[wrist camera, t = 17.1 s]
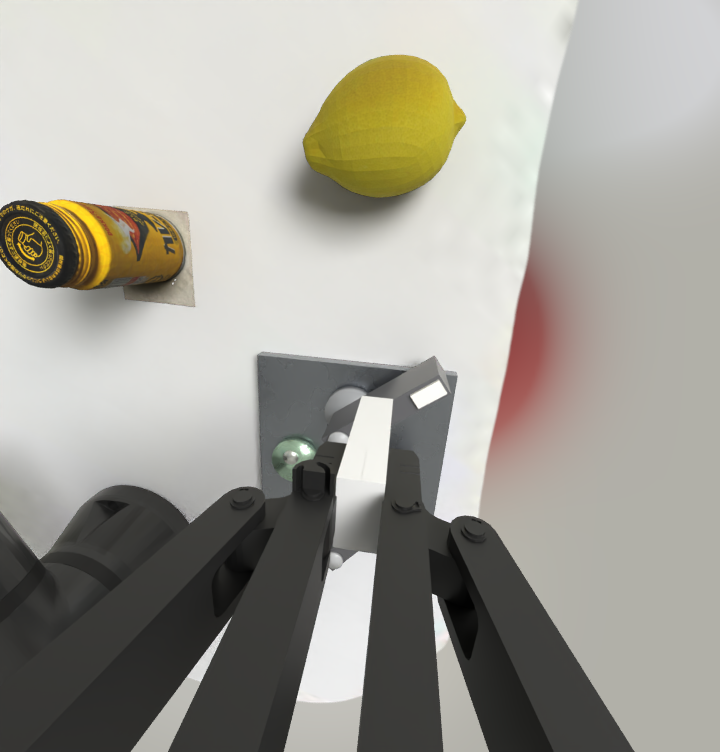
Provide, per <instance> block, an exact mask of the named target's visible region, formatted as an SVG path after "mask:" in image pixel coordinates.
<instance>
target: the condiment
mask: <svg viewBox="0 0 720 752" xmlns="http://www.w3.org/2000/svg"><path fill="white" fill-rule="evenodd" d="M0 259H1V260H2V262H3V263H4V264H5V266H6V267H7V268H8V269H9V270H10V271H12V272H13V273H14V274H15V275H16V276H17V277H19V278H20V279H22V280H23V281H25V282H26V283H28V284H29V285H33V286H36V287H40V288H56V287H63V288H67V287H70V288H73V289H77V290H91V289H100V288H110V287H118V286H123V289H124V294H125V299H128V300H139V301H149V302H159V303H168V304H176V305H185V306H194V307H195V301H194V289H193V276H192V255H191V242H190V231H189V219H188V213H187V212H184V211H171V210H159V209H147V208H135V207H124V206H113V207H111V206H102V205H96V204H89V203H83V202H75V201H70V200H69V201H68V200H54V201H50V202H48V203H45V202H35V201H27V200H22V201H14V202H11V203H10V204H7V205H5V206H3V207H2V208H1V210H0ZM174 279H176V281H174ZM172 282H174V285H172Z"/></svg>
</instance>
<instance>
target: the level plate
mask: <svg viewBox="0 0 720 752" xmlns="http://www.w3.org/2000/svg"><path fill="white" fill-rule="evenodd" d="M412 368H414V367H404V366H395V365H385V364H376V363H366V362H356V361H347V360H337V359H328V358H318V357H308V356H299V355H289V354H280V353H270V352H261V353H260V354H258V383H259V411H260V439H261V467H262V492H263V493H264V495H265V499H271V498H280V497H285V496H288V495H290V494H291V492H292V468H293V467H294V466H295V465H296V464H298V463H300V462H302V461H305V460H310V459H313V458H314V456H315V454H316V452H317V450H318V447H319V446H321V445H322V444H323V443H324V442H323V441H322V440H321V439H322V436H323V434H324V432H325V430H326V428H327V426H328V423H327V421H326V419H325V406H326V404H327V402H328V400H329V398H330V396H331V395H332V394H333V393H334V392H335V391H336V390H338V389H340V388H342V387H347V386H353V387H358V388H360V389H363V390H364V391H366V392H367V393H370V392H371V391H373V390H375V389H377V388H378V387H380V386H382V385H384V384H385V383H387V382H389V381H391V380H392V379H394V378H396V377H398V376H400V375H401V374H403V373H405V372H407V371H408V370H410V369H412ZM444 372H445V374H446V377H447V381H448V384H449V388H450V391H451V395H449V396H447V397H445V398H443V399H442V400H440V401H438V402H436V403H434V404H432V405H430V406H428V407H426V408H424V409H422V410H421V411H419V412H417V413H415V414H413V415H411V416H409V417H407V418H405V419H403V420H401V421H400V422H398V423H396V424H394V425H392V426H391V429H390V440H389V448H394V449H402V450H410V451H414V452H415V454H416V455H417V456H418V458H419V464H420V479H421V495H422V502H423V503H424V506H425V509H426V510H427V511H428V512H429V513H430V514H432V515H433V516H434V511H435V505H436V499H437V493H438V487H439V481H440V476H441V470H442V464H443V458H444V452H445V446H446V441H447V435H448V429H449V423H450V417H451V411H452V406H453V400H454V394H455V388H456V382H457V373H456V372H452V371H444Z"/></svg>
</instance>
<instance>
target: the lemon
mask: <svg viewBox="0 0 720 752" xmlns="http://www.w3.org/2000/svg"><path fill="white" fill-rule="evenodd" d="M465 122H466V116H465V114H464V112H463V111H462V109H461V108H460V107H459V106H458V105H457V104H456V102H455V101H454V99H453V97H452V94H451V91H450V88H449V85H448V82H447V80H446V78H445V77H444V76H443V74H442V73H441V72H440V71H439V70H438V68H437V67H435V66H434V65H432V64H431V63H429V62H428V61H426V60H423V59H420V58H418V57H414V56H408V55H389V56H381V57H378V58H374V59H371V60H369V61H367V62H365V63H363V64H361V65H359V66H358V67H356V68H355V69H354V70H352V71H351V72H350V73H348V74H347V75H346V76H345V77H344V78H343V79H342V80H341V81H340V82H339V83H338V84H337V85H336V86H335V88H334V89H333V90H332V91H331V93H330V94H329V96H328V97H327V99H326V100H325V102H324V103H323V105H322V107H321V110H320V112H319V114H318V115H317V117H316V119H315V120H314V122H313V124H312V125H311V127H310V129H309V131H308V132H307V133H306V135H305V137H304V139H303V147H304V151H305V156H306V159H307V161H308V163H309V165H310V166H311V168H312V169H313V170H315V171H316V172H319V173H320V174H323V175H325V176H328V177H330V178H331V179H333V180H334V181H335V182H337V183H338V184H339V185H341V186H342V187H344V188H346V189H347V190H349V191H351V192H354V193H357V194H360V195H364V196H369V197H378V198H379V197H390V196H397V195H400V194H404V193H407V192H410V191H412V190H415V189H417V188H419V187H420V186H422V185H424V184H425V183H427V182H428V181H430V180H431V179H432V178H433V177H434V176H435V175H436V174H437V173H438V172H439V171H440V169H441V168H442V166H443V165H444V163H445V162H446V160H447V158H448V155H449V152H450V150H451V147H452V144H453V141H454V139H455V137H456V135H457V134H458V132H459V131H460V129H461V128H462V127H463V125H464V124H465Z"/></svg>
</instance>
